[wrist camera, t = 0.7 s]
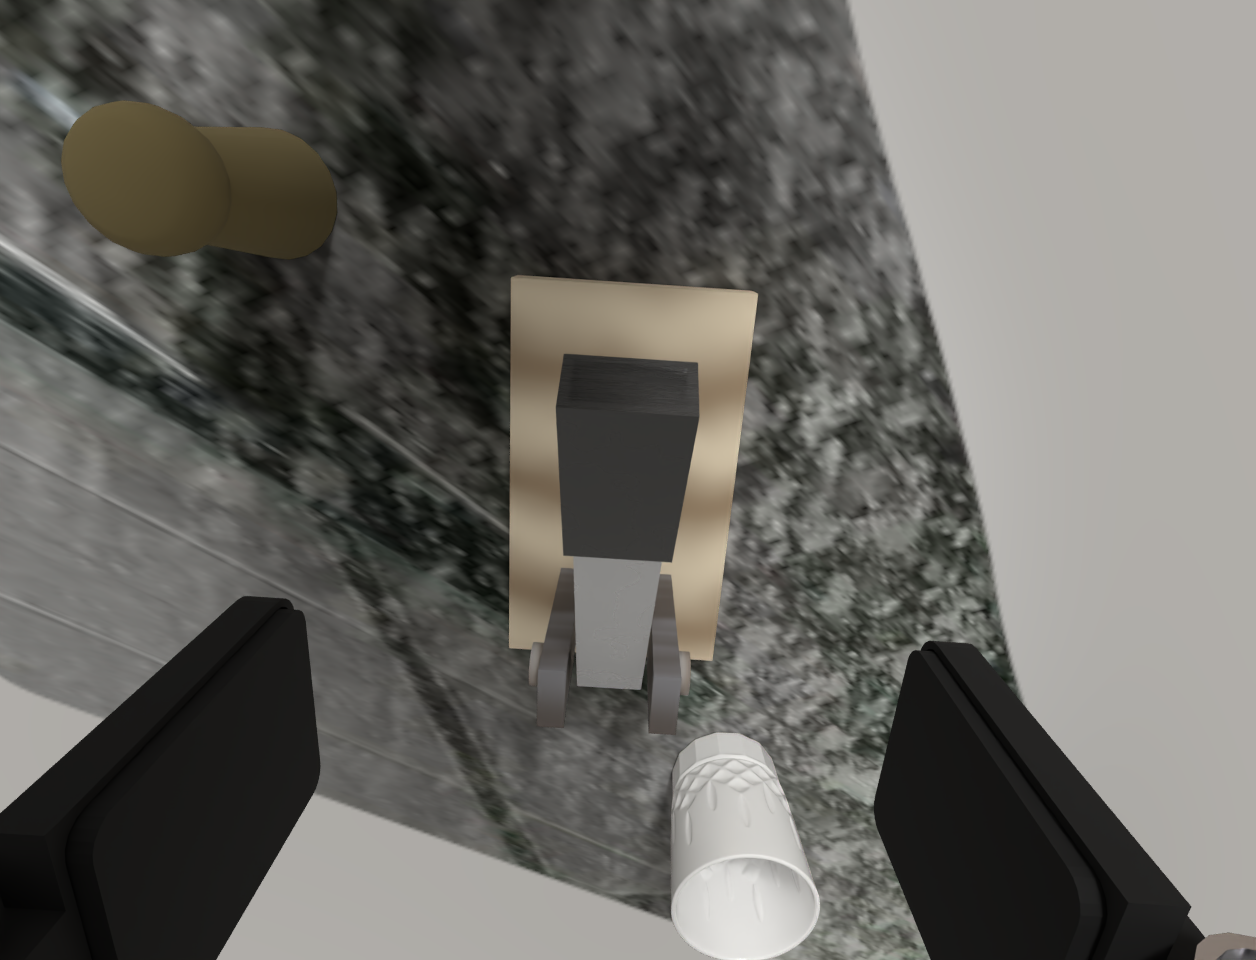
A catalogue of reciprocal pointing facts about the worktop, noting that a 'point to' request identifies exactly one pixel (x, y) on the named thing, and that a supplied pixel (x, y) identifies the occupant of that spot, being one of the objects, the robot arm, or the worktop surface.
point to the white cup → (736, 854)
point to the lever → (621, 499)
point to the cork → (196, 184)
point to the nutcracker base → (539, 573)
